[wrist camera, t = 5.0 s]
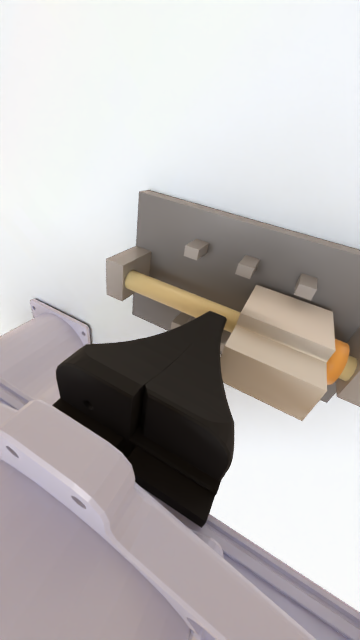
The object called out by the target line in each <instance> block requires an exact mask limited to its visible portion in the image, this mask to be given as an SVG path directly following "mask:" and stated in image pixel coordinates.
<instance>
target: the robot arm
mask: <svg viewBox="0 0 360 640" xmlns="http://www.w3.org/2000/svg"><path fill="white" fill-rule="evenodd" d="M30 305H31V309H32V313H33V317H34V319H32V320H30V321H28V322H26V323H24V324H22V325H20V326H19V327H17V328H15V329H13V330H11V331H9V332H7V333H5V334H4V335H2V336H0V640H360V612H358V611H357V610H355V609H354V608H352V607H351V606H349V605H348V604H346V603H345V602H343V601H342V600H340V599H339V598H337V597H336V596H334V595H332V594H331V593H329V592H328V591H326V590H325V589H323V588H322V587H320V586H319V585H317V584H316V583H314V582H313V581H311V580H310V579H308V578H306V577H305V576H303V575H302V574H300V573H299V572H297V571H296V570H294V569H293V568H291V567H290V566H288V565H287V564H285V563H283V562H282V561H280V560H279V559H277V558H276V557H274V556H273V555H271V554H270V553H268V552H267V551H265V550H264V549H262V548H261V547H259V546H257V545H256V544H254V543H253V542H251V541H250V540H248V539H247V538H245V537H244V536H242V535H241V534H239V533H238V532H236V531H235V530H233V529H231V528H230V527H228V526H227V525H225V524H224V523H222V522H221V521H219V520H218V519H216V518H215V517H213V516H212V515H210V514H209V512H210V509H211V506H212V503H213V500H214V497H215V495H216V494H217V491H218V488H219V485H220V482H221V480H222V478H223V477H224V475H225V473H226V472H227V470H228V469H229V467H230V465H231V462H232V458H233V451H234V421H233V418H232V415H231V412H230V409H229V406H228V402H227V399H226V395H225V390H224V385H223V380H222V373H221V363H220V345H221V336H222V333H223V330H224V327H225V324H226V321H227V319H226V317H224V316H222V315H220V314H217V313H215V312H212V311H208V312H206V313H205V314H203V315H201V316H199V317H197V318H195V319H194V320H192V321H190V322H188V323H186V324H183V325H181V326H179V327H177V328H174V329H172V330H169V331H167V332H164V333H161V334H158V335H155V336H151V337H147V338H142V339H137V340H132V341H126V342H117V343H105V344H90V331H89V327H88V326H87V325H86V324H84V323H82V322H80V321H78V320H76V319H74V318H72V317H70V316H68V315H66V314H64V313H62V312H60V311H58V310H56V309H54V308H52V307H50V306H48V305H46V304H44V303H42V302H40V301H38V300H36V299H32V300H30Z"/></svg>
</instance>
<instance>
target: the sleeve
mask: <svg viewBox="0 0 360 640" xmlns="http://www.w3.org/2000/svg"><path fill="white" fill-rule="evenodd" d="M335 351H336V349H335V334H334V320H333V312H332V311H329V310H326V309H324V308H321V307H318V306H315V305H312V304H310V303H307V302H304V301H301V300H298V299H295V298H293V297H290V296H287V295H284V294H281V293H279V292H276V291H273V290H270V289H267V288H265V287H262V286H259V285H256V286H255V288H254V290H253V291H252V293H251V295H250V297H249V299H248V300H247V302H246V304H245V306H244V308H243V309H242V311H241V313H240V316H239V318H238V321H237V324H236V326H235V328H234V330H233V331H232V333H231V335H230V337H229V339H228V341H227V342H226V344H225V346H224V349H223V352H222V354H221V357H220V363H221V373H222V380H223V383H225V384H227V385H229V386H231V387H233V388H235V389H237V390H239V391H241V392H244V393H246V394H248V395H250V396H252V397H254V398H256V399H258V400H260V401H262V402H264V403H266V404H268V405H270V406H272V407H274V408H276V409H278V410H280V411H282V412H285V413H287V414H289V415H291V416H293V417H295V418H297V419H299V420H301V421H302V420H303V419H304V418H305V417H306V416H307V414H308V413H309V412H310V411H311V410H312V409H313V407H314V406H315V405H316V404H317V403H318V401H319V400H320V399H321V398H322V397H323V395H324V394H325V393H326V392H327V361H328V360H329V359H330V357H331V356H332V355H333V353H334V352H335Z"/></svg>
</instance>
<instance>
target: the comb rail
mask: <svg viewBox="0 0 360 640" xmlns="http://www.w3.org/2000/svg"><path fill="white" fill-rule="evenodd" d="M106 283H107V295H109V296H111V297H114V298H116V299H118V300H121V301H123V300H125V299H126V298H128V297H129V296H131V295H132V294H133V311H132V314H133V315H135V316H137V317H139V318H142V319H144V320H146V321H148V322H150V323H153V324H155V325H157V326H159V327H161V328H164V329H166V330H168V331H169V330H172V329H174V328H177V327H179V326H181V325H183V324H186V323H188V322H190V321H192V320H194V319H195V318H197V317H199V316H201V315H203V314H205V313H206V312H208V311H212V312H215V313H217V314H220V315H222V316H224V317H226V319H227V321H226V324H225V327H224V330H223V333H222V336H221V345H220V354H222V352H223V349H224V346H225V344H226V342H227V341H228V339H229V337H230V335H231V333H232V331H233V330H234V328H235V326H236V324H237V321H238V318H239V316H240V313H241V311H242V309H243V308H244V306H245V304H246V302H247V300H248V299H249V297H250V295H251V293H252V291H253V290H254V288H255V286H256V285H259V286H262V287H265V288H267V289H270V290H273V291H276V292H279V293H281V294H284V295H287V296H290V297H293V298H295V299H298V300H301V301H304V302H307V303H310V304H312V305H315V306H318V307H321V308H324V309H326V310H329V311H332V312H333V320H334V334H335V349H336V351H335V352H334V353H333V355H332V356H331V357H330V359H329V360H328V361H327V392H326V393H325V394H324V395H323V397H322V398H321V399H320V400H322V401H324V402H326V403H327V402H328V401H329V400H330V399H331V397H332V396H333V395H334V394H335V393H336V392H337V397H339V398H341V399H343V400H346V401H348V402H350V403H352V404H355V405H357V406H359V407H360V250H358V249H354V248H351V247H347V246H344V245H340V244H337V243H333V242H330V241H326V240H323V239H319V238H315V237H312V236H308V235H305V234H301V233H298V232H294V231H291V230H287V229H284V228H280V227H277V226H273V225H270V224H266V223H263V222H259V221H255V220H252V219H248V218H245V217H241V216H238V215H234V214H231V213H227V212H224V211H220V210H217V209H213V208H210V207H206V206H203V205H199V204H195V203H192V202H188V201H185V200H181V199H178V198H174V197H171V196H167V195H164V194H160V193H157V192H153V191H150V190H146V191H139V204H138V221H137V239H136V246H135V247H132V248H130V249H128V250H125V251H123V252H121V253H118V254H116V255H114V256H112V257H109V258H107V259H106Z"/></svg>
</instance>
